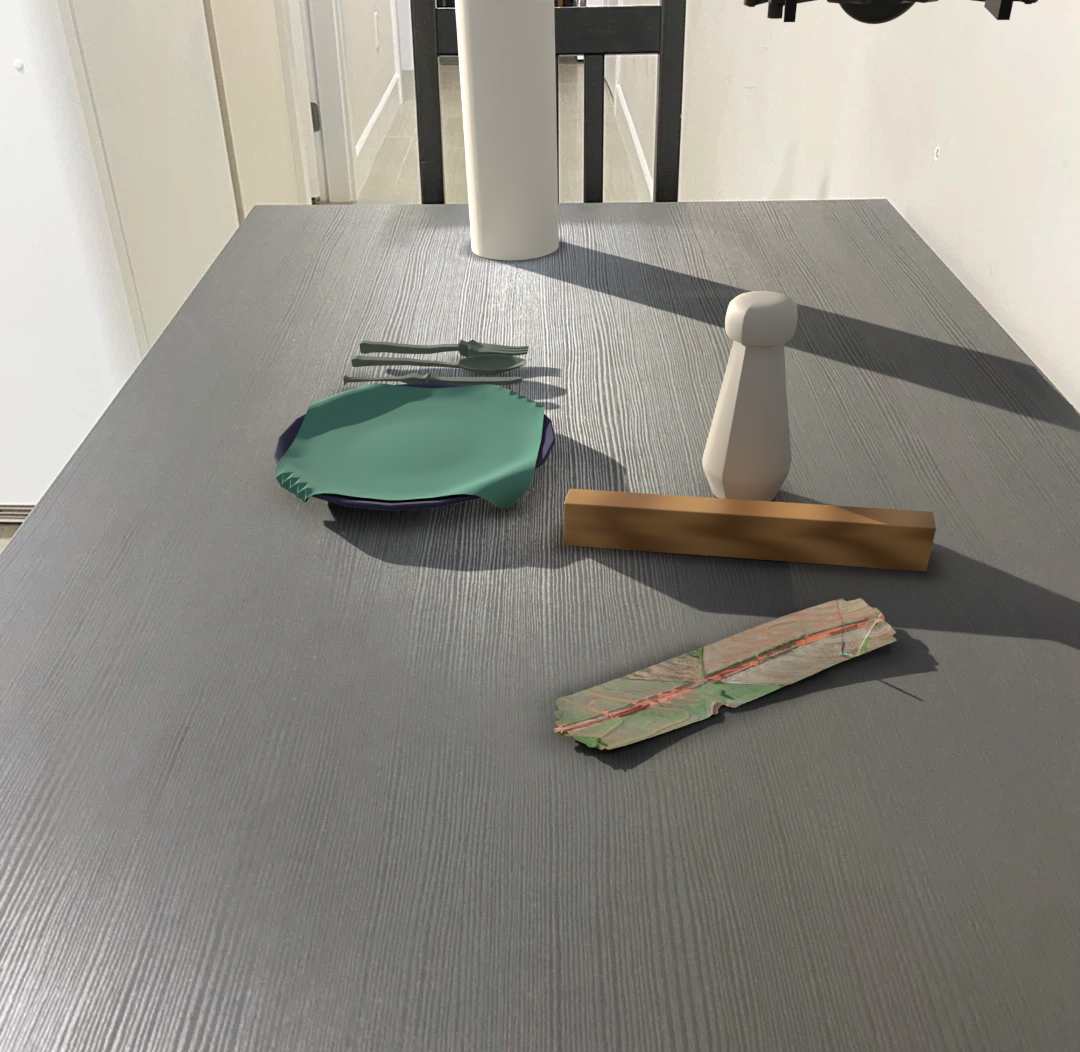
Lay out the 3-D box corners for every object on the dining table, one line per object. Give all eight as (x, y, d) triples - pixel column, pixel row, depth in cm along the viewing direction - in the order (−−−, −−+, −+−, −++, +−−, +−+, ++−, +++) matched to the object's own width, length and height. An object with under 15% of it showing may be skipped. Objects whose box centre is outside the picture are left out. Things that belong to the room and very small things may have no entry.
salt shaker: (689, 478, 75) (702, 285, 67) (768, 468, 76) (790, 277, 68) (716, 518, 71) (733, 318, 63) (800, 508, 72) (827, 308, 63)
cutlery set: (244, 530, 71) (236, 499, 70) (342, 356, 94) (338, 329, 93) (546, 534, 70) (545, 502, 68) (571, 356, 93) (570, 329, 91)
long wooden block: (923, 554, 67) (933, 511, 65) (926, 572, 65) (936, 528, 63) (569, 530, 70) (569, 488, 68) (564, 545, 69) (563, 503, 67)
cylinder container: (481, 264, 113) (458, -97, 94) (464, 238, 120) (440, -101, 101) (568, 254, 115) (563, -102, 95) (547, 230, 122) (538, -107, 102)
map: (533, 717, 56) (532, 703, 56) (848, 592, 63) (850, 578, 62) (581, 775, 53) (580, 760, 52) (909, 636, 59) (912, 622, 59)
